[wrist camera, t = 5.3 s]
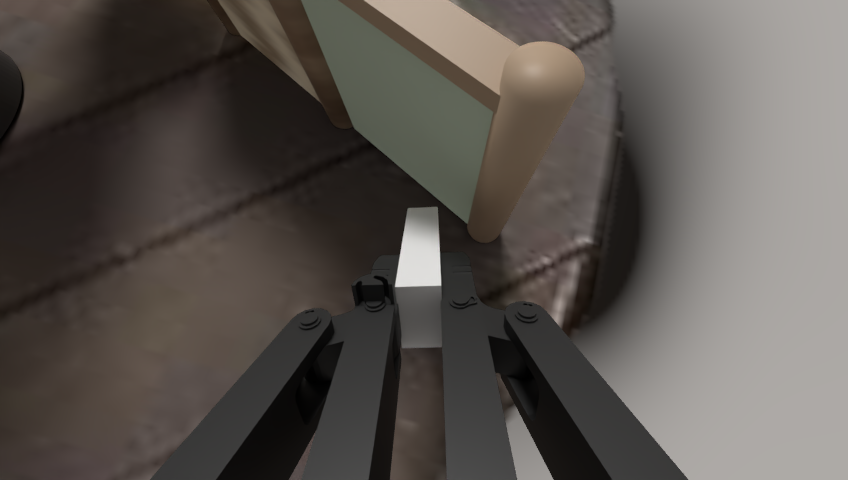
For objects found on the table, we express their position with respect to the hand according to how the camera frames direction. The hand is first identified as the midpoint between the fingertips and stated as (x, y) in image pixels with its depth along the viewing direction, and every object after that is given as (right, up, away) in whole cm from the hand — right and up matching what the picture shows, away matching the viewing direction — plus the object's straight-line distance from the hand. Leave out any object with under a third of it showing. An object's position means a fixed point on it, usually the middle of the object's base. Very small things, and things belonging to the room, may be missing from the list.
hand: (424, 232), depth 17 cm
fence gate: (0, +4, +6) cm, 7 cm away
